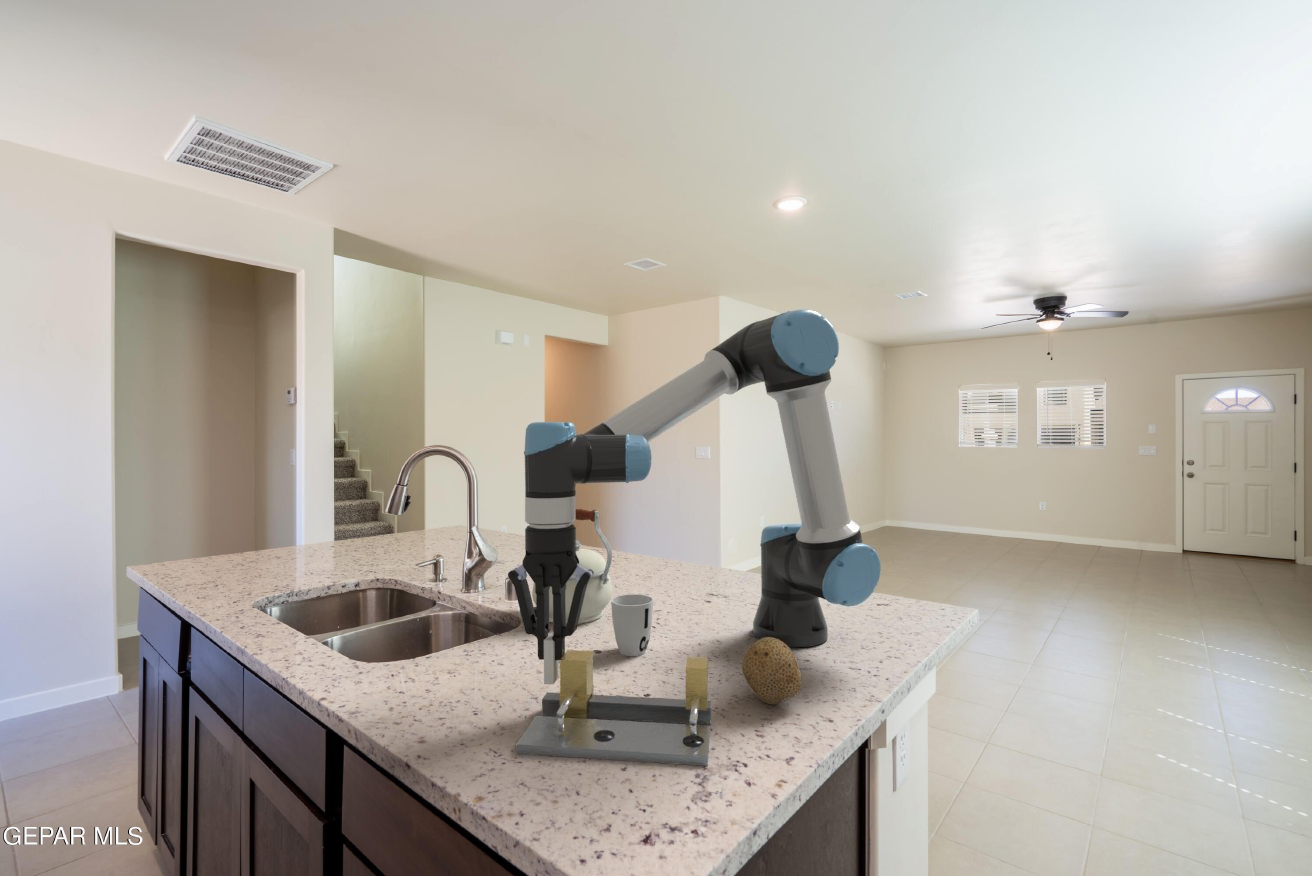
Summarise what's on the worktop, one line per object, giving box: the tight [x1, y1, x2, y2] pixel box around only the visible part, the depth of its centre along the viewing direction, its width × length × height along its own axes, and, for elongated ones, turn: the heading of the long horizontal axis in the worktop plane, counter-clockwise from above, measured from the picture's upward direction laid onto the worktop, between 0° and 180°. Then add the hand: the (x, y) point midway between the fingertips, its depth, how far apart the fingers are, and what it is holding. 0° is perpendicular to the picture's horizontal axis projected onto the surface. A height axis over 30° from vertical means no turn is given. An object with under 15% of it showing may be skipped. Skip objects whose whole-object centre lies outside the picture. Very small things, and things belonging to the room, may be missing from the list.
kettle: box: [531, 508, 613, 625], centre depth 140 cm, size 25×18×25 cm
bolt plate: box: [515, 715, 711, 767], centre depth 81 cm, size 25×8×1 cm, turn 83°
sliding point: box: [556, 649, 595, 732], centre depth 87 cm, size 4×11×8 cm, turn 173°
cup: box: [610, 593, 654, 657], centre depth 116 cm, size 8×8×10 cm
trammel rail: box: [541, 656, 712, 740], centre depth 86 cm, size 25×11×8 cm, turn 83°
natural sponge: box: [741, 637, 802, 705], centre depth 94 cm, size 9×9×10 cm
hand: (551, 680), depth 91 cm, fingers closed
